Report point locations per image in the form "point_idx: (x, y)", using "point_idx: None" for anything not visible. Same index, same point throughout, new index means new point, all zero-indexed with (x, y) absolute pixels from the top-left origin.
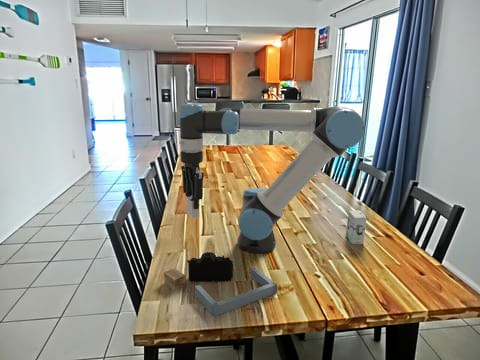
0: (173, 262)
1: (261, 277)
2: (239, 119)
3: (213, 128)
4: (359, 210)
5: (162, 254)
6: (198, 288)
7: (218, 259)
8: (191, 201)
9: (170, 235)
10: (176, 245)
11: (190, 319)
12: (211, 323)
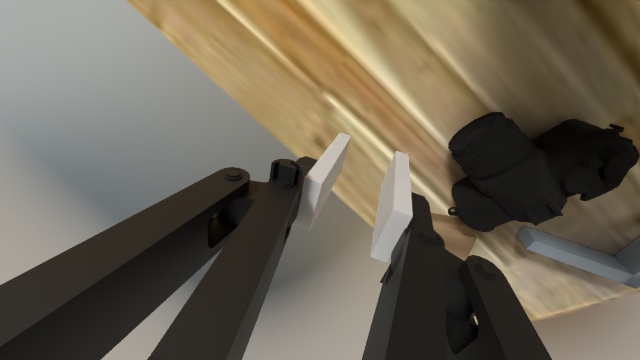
0: (362, 165)
1: None
2: None
3: None
4: None
5: (310, 155)
6: (542, 252)
7: (587, 192)
8: (382, 253)
9: (227, 64)
10: (291, 96)
11: (560, 289)
12: (620, 284)
